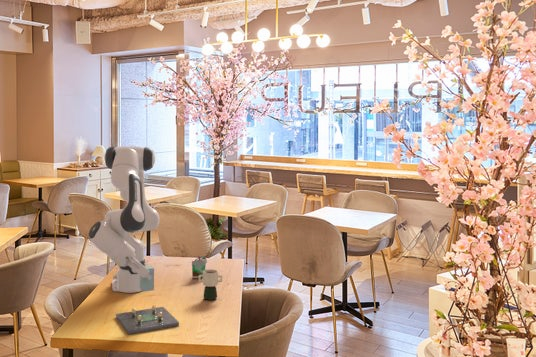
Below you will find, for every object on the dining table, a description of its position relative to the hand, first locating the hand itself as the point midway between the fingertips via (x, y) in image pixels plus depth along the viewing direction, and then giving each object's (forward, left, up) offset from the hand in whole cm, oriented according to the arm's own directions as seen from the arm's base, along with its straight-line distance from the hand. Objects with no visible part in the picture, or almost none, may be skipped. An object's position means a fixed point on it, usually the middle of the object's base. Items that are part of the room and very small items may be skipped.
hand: (148, 276), depth 210 cm
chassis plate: (0, -1, -19) cm, 19 cm away
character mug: (-15, +33, -19) cm, 41 cm away
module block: (0, -1, -5) cm, 5 cm away
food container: (-49, +42, -19) cm, 67 cm away
